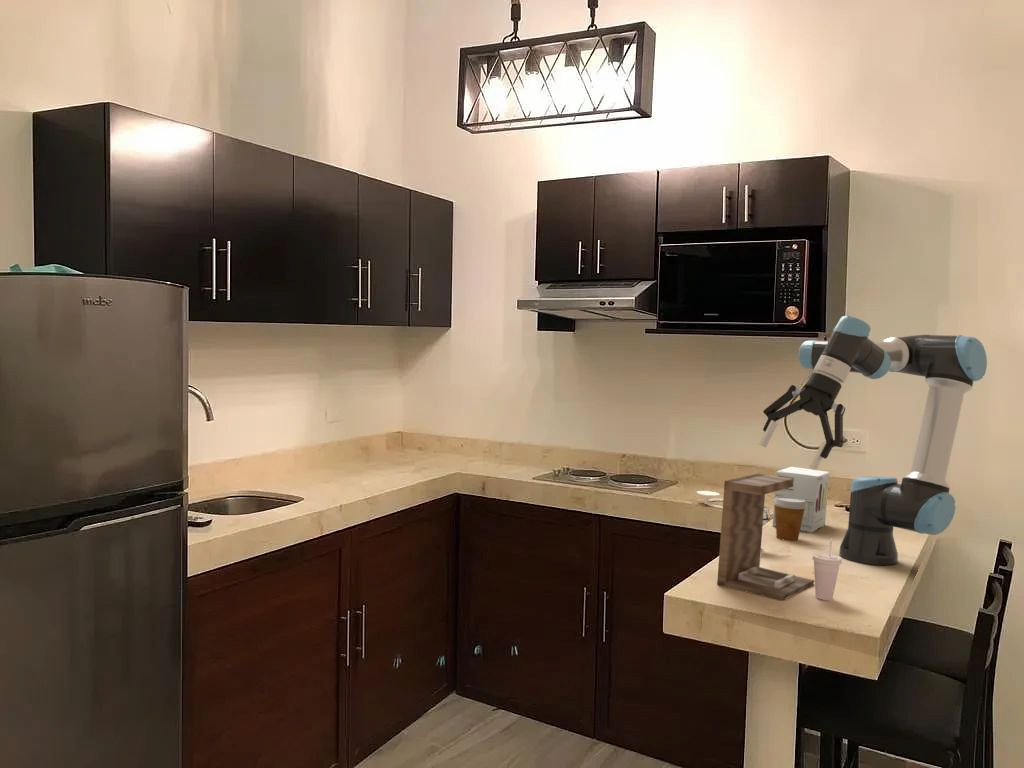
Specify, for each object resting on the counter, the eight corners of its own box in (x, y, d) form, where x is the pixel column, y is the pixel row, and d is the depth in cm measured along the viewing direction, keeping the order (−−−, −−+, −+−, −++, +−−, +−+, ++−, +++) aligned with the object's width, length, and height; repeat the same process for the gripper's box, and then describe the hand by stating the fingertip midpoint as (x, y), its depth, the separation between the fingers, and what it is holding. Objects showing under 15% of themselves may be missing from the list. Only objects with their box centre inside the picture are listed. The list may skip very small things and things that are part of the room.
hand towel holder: (760, 500, 305) (701, 497, 305) (759, 512, 305) (701, 509, 305) (747, 491, 322) (691, 488, 322) (746, 503, 322) (690, 499, 322)
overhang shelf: (751, 570, 223) (758, 473, 222) (813, 584, 213) (821, 483, 212) (717, 584, 208) (724, 480, 206) (782, 600, 198) (790, 491, 196)
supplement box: (813, 533, 274) (818, 476, 273) (771, 526, 281) (775, 470, 280) (826, 525, 288) (830, 471, 287) (786, 518, 295) (790, 465, 294)
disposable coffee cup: (807, 538, 265) (810, 499, 264) (798, 543, 257) (801, 503, 256) (776, 533, 270) (779, 495, 270) (766, 538, 262) (769, 498, 262)
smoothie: (841, 603, 198) (846, 542, 197) (811, 600, 199) (816, 540, 198) (835, 595, 204) (840, 536, 203) (807, 592, 205) (811, 534, 205)
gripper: (776, 355, 213) (737, 432, 213) (873, 392, 197) (830, 475, 197) (786, 365, 219) (748, 440, 219) (881, 401, 203) (839, 482, 203)
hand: (787, 457), depth 208 cm, fingers open, 13 cm apart
